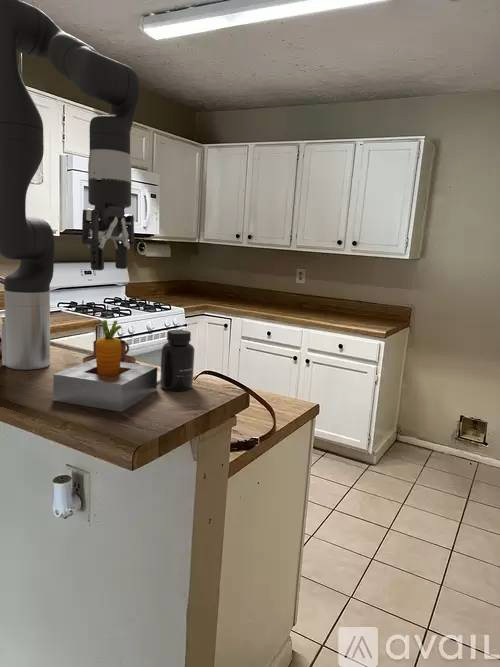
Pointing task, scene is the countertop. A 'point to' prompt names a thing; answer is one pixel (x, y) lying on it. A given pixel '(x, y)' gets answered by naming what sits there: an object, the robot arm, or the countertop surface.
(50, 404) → the countertop surface
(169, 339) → the supplement bottle
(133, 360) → the cup and saucer
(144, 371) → the metal housing
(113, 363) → the carrot
